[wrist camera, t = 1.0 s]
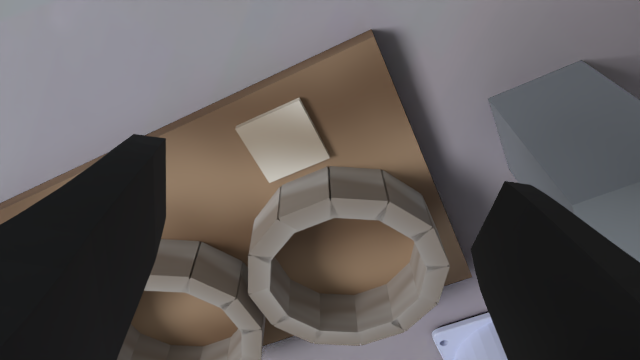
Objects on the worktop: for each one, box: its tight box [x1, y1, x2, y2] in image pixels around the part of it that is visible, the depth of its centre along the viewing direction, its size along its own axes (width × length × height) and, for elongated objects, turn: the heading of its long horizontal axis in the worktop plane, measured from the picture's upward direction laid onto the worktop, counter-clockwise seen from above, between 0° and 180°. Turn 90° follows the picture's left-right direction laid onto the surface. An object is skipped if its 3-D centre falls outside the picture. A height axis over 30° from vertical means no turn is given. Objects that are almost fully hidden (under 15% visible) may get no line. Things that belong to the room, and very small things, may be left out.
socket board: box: [0, 30, 472, 360], centre depth 23 cm, size 14×20×4 cm
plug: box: [488, 60, 640, 262], centre depth 18 cm, size 4×4×8 cm
